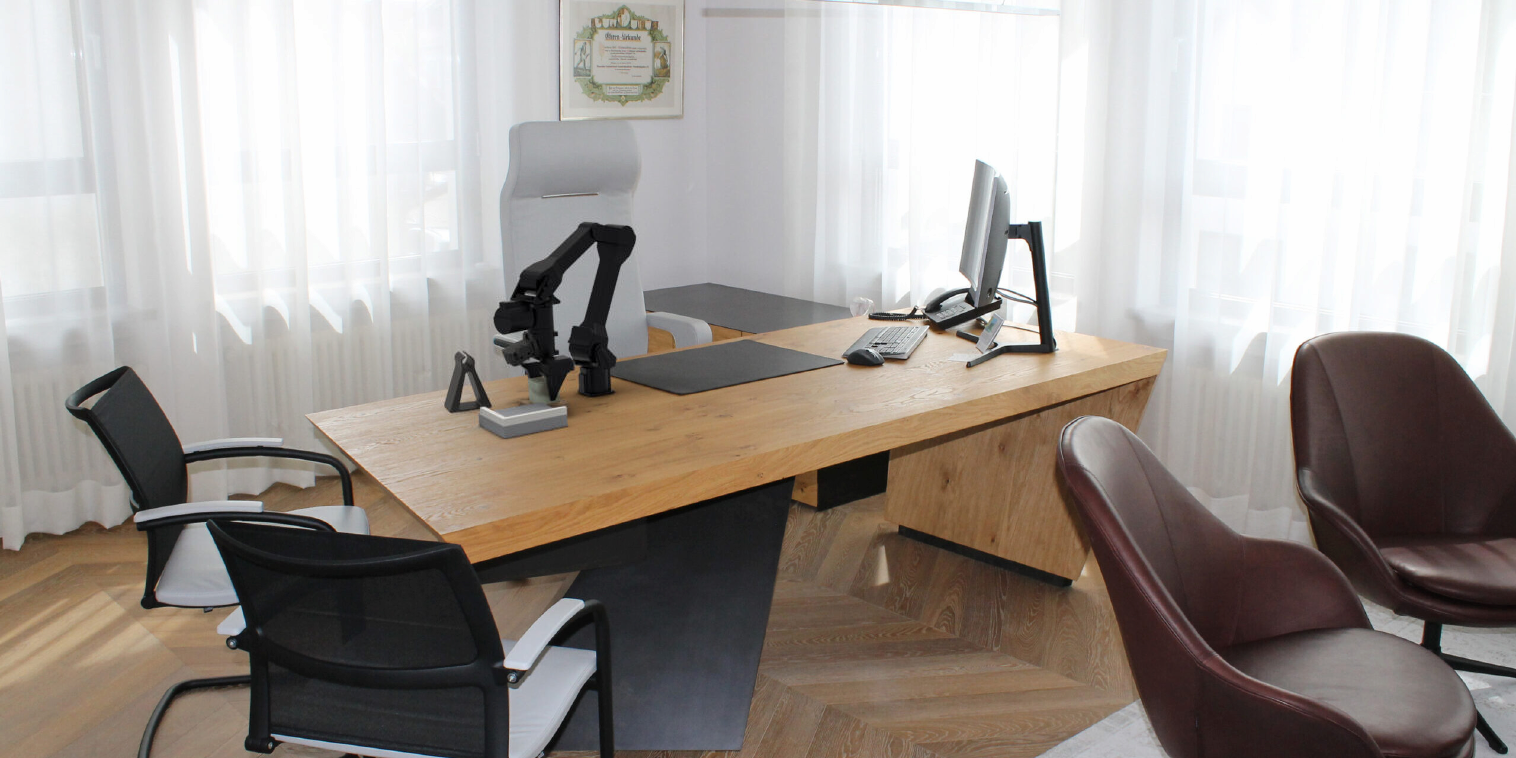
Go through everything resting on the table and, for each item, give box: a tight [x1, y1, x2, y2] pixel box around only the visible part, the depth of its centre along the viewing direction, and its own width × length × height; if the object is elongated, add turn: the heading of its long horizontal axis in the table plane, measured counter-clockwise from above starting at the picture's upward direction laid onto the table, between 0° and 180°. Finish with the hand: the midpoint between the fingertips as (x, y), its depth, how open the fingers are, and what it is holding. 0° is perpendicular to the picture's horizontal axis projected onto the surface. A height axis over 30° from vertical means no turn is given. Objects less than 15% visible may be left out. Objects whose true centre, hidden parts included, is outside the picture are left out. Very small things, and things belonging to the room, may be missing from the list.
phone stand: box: [443, 350, 493, 414], centre depth 238 cm, size 9×6×12 cm, turn 118°
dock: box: [477, 402, 569, 439], centre depth 225 cm, size 14×12×4 cm
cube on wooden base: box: [519, 376, 571, 410], centre depth 238 cm, size 8×8×6 cm
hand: (544, 397), depth 238 cm, fingers open, 7 cm apart
